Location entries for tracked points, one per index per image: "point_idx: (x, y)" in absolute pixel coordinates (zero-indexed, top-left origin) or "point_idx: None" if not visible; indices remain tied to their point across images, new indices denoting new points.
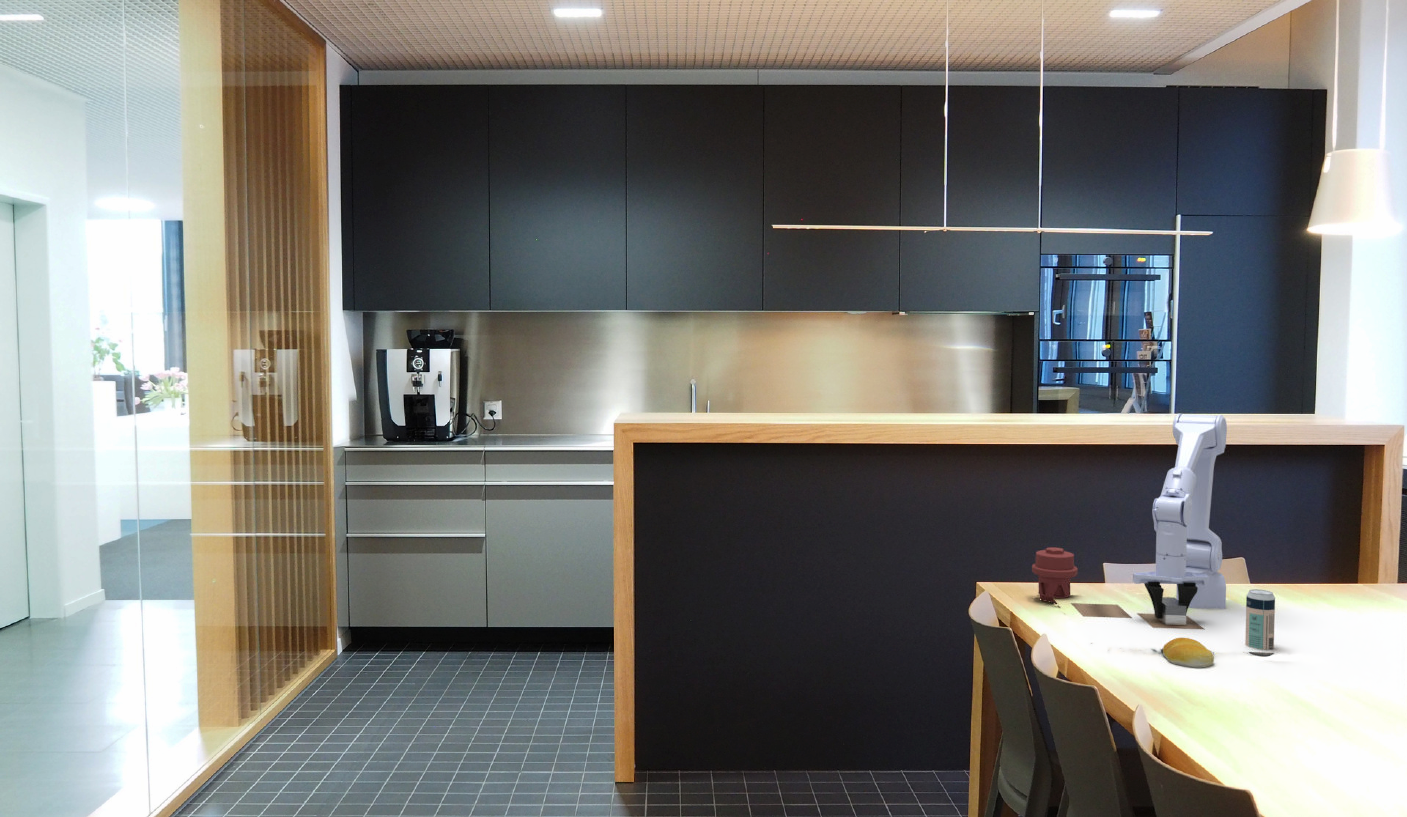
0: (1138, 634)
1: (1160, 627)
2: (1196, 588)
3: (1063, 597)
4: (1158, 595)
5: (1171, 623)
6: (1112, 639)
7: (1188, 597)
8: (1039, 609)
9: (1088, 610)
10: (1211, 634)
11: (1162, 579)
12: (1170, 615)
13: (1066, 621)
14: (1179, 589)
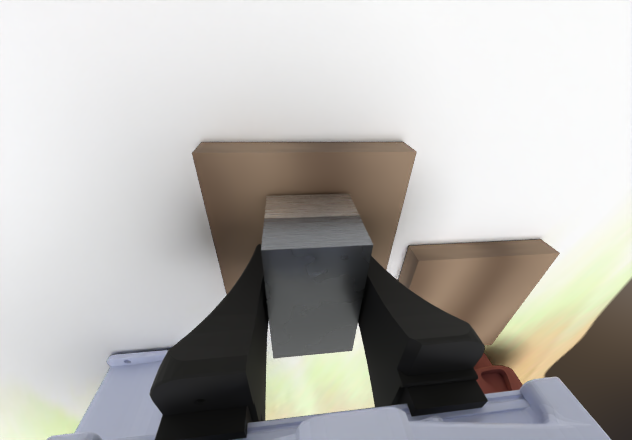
0: (455, 140)
1: (384, 155)
2: (161, 377)
3: (480, 369)
4: (410, 306)
5: (326, 196)
6: (613, 45)
7: (234, 315)
8: (547, 320)
9: (496, 303)
10: (170, 178)
11: (451, 431)
12: (337, 214)
13: (570, 247)
14: (262, 388)
